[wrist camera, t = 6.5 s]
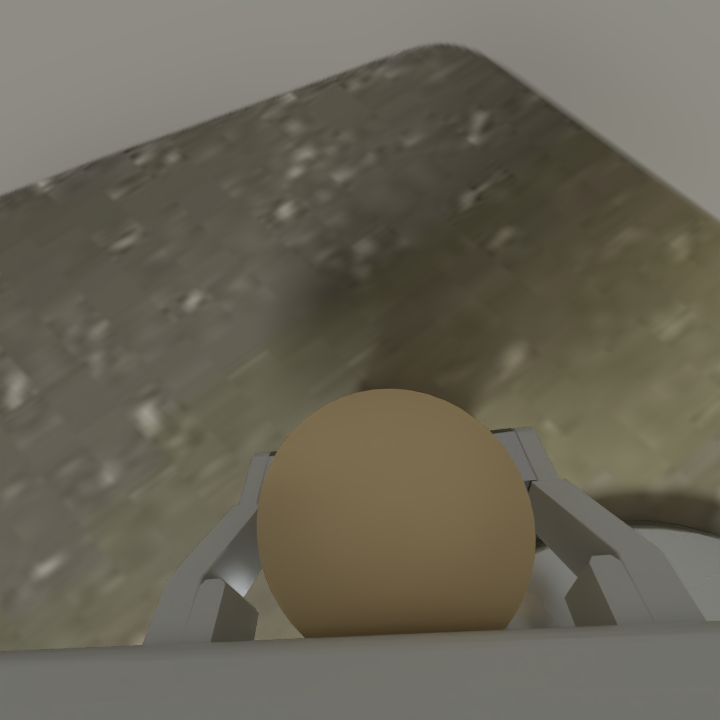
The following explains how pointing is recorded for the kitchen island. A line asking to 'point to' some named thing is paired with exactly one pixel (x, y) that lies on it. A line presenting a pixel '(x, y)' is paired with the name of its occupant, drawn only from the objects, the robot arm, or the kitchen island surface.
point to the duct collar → (678, 543)
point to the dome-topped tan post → (395, 520)
